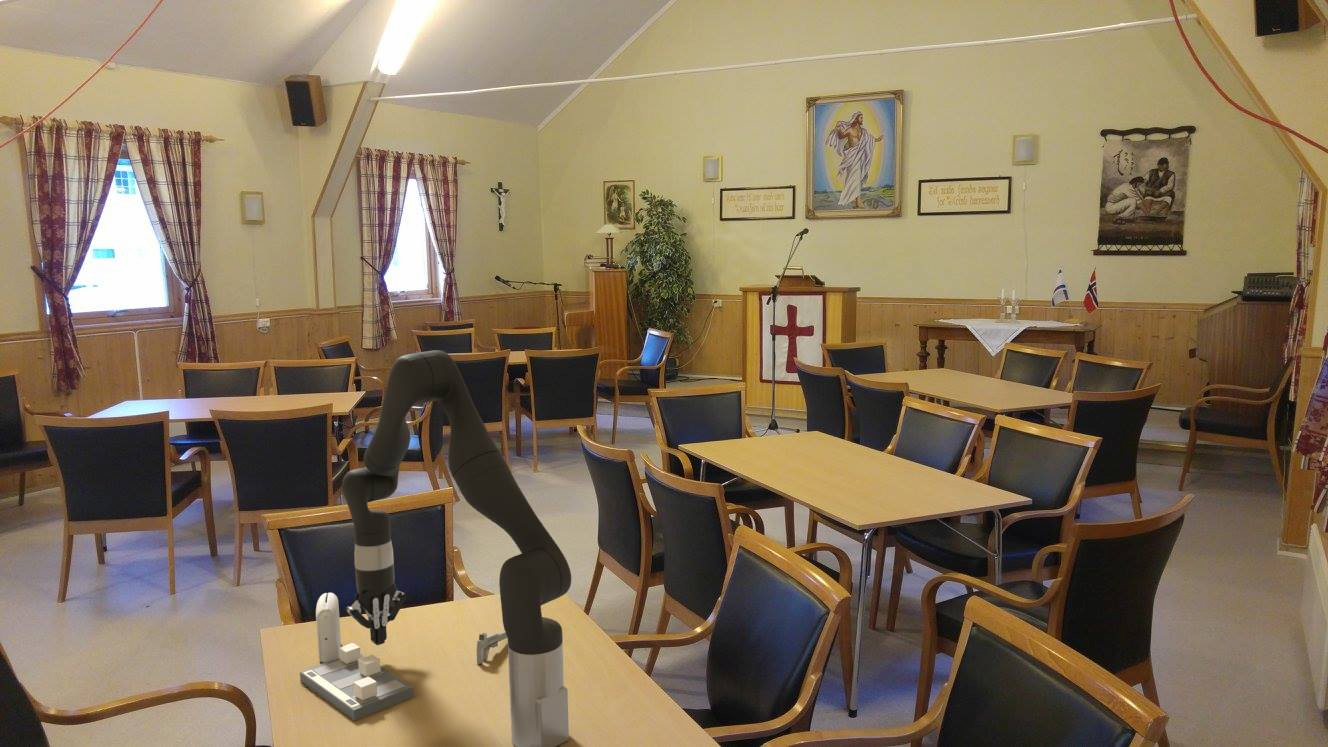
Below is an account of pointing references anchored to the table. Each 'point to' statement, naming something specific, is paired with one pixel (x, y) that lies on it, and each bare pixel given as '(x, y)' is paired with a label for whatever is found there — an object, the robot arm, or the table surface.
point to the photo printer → (328, 627)
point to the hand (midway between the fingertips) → (379, 643)
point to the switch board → (339, 687)
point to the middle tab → (369, 665)
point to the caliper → (488, 644)
